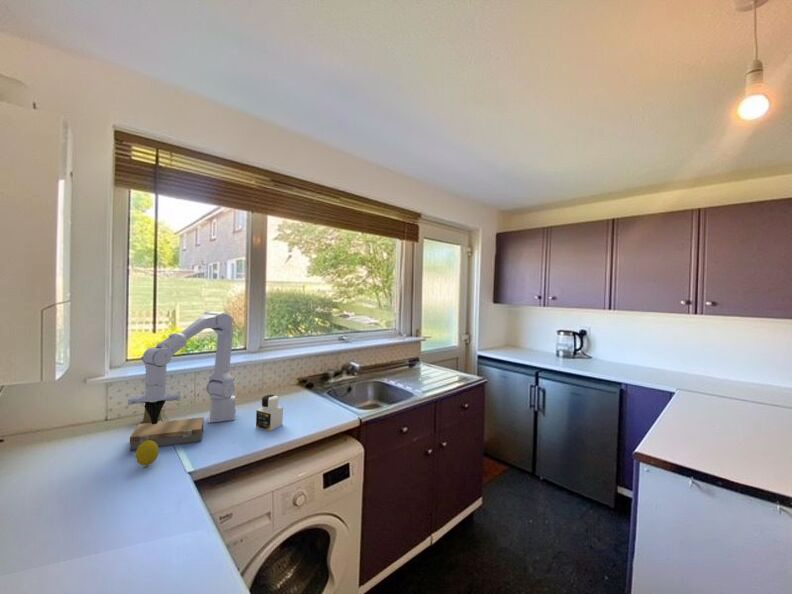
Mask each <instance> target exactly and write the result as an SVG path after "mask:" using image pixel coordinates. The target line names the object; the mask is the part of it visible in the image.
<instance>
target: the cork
mask: <svg viewBox="0 0 792 594" xmlns="http://www.w3.org/2000/svg"><path fill="white" fill-rule="evenodd" d="M161 414H162V413H161V412H160V415H159V418H158V422H161V420H162V415H161ZM145 423H152V422H151V418H150V416H149V414H148V412H147V410H146V409H145V408H144V412H143V418H142V424H145Z"/></svg>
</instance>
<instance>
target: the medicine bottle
mask: <svg viewBox="0 0 792 594" xmlns="http://www.w3.org/2000/svg"><path fill="white" fill-rule="evenodd" d="M255 415H256V416H255V419H256V420H255V428H256V429H257V428H258V429H260V428H261V430H265V431H268V432H271V431H272V430H275V429H277V428H279V427H280V426H282V425H283V421H284V418H283V415H284V408H283V406H280V405H279V396H278V395H275V394H266V395H264V396H263V397H262V398H261V407H260V408H258V409H256V414H255ZM276 427H277V428H276Z"/></svg>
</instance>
